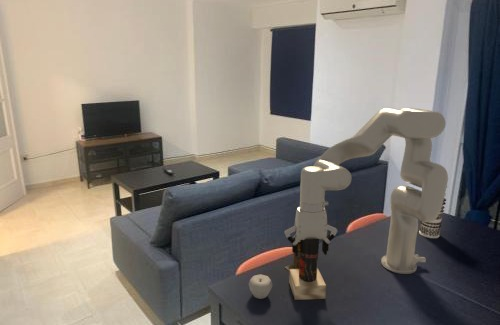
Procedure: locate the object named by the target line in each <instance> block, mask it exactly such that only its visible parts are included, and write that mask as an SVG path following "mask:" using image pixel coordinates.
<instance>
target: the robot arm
mask: <svg viewBox="0 0 500 325" xmlns="http://www.w3.org/2000/svg"><path fill="white" fill-rule="evenodd" d="M446 123H447V122H446V118H445V117H444V115H443V113H440V111H439V112H438V111H435V110H429V109H421V108H413V107H402V108H394V107H384V108H381V109H379V111H377V112H376V113H375V114H374V115H373V116H372V117H371V118H370V119H369V120H368V121H367V122H366V123H365V124H364V125H363V126H362V128H360V129H359V130H358V131H357V132H356V133H355V134H354V135H353V136H351V137H349V138H347V139H345V140H342V141H339V142H337V143H336V144H334V145H332V146H331V147H329V148H328V149H327V150H325V151H324V152H323V153H322V154H321V155H320V156H319V157H318V159H316V161H315V163H314V164H313V166H312V165H311V166H309V165H308V166H305V167H302V169H301V171H300V183H299V186H300V189H299V193H300V194H299V206H298V207H297V208H296V210H295V211H296V212H295V218H294V225H293V226H291V227H289V228H288V229H285V230H284V235H285V236H286V238H287V240H288V241H289V243H290V244H292V245H291V246H292V247H291V248H292V249H291V252H292V254H293V255H294V254H295V256H298V245H297V243H298V242H299V241H300V240H305V239H319V240H322V242H321V243H322V244H321V252H322V253H323V254H324V255H325V256H326V255H328V254H327V253H328V251H329V244H330V243H331V241H332V240H334V238H335V236H336V234H337V233H338V229H337V228H336V227H334V226H331V225H330V224H328V217H327V210H326V206H329V201H328V200H325V193H326V191H342V190H345V189H347V188H348V187H349V186H350V185H351V183H352V174H351V172H350V171H349V170H348V169H347V168H345V167H343V166H341V165H340V164H342V163H344V162H345V161H348V160H350V159H351V160H352V159H356V158H364V157H370V156H372V155H374V154H375V153H376V152H377V151H378V150H379V149H380V148H381V147H382V146H383V145H384V144H385V143H386V142H387V141H388V140H389V139H390V138H391V137H392V136H394V137H398V138H403V139H404V141H405V142H404V143H405V147H404V151H403V152H404V153H403V157H402V162H401V167H400V172H399V175H400V178H401V180H403V182H406V183H408V184H409V185H413V186H415V187H418V188H420V189H421V190H420V189H417V188H414V187H412V186H409V185H403V184H402V185H398V186H396V187H395V188H394V189H392V191H391V194H390V198H389V199H390V200H389V201H390V202H389V203H390V221H389V222H390V223H389V230H388V239H387V246H386V254H385V255H383V256H382V257H381V260H380V261H381V265H382V266H383V267H384V268H386V270H389V271H390V272H393V273H395V274H401V275H409V274H413V273H415V272H416V271H417V268H418V266H417V264H418V263H426V262H427V259H426V257H424V256H420V255H419V254H415V251H416V244H417V237H418V236H417V235H418V232H419V221H424V222H432V221H434V220H435V219H436V218H437V217H438V215H439V213H440V211H441V207H442V204H443V199H444V198H445V197H444V195H445V193H446V190H447V188H448V182H449V174H448V171H447V169H446V168H445V166H443V165H441V164H438V163H436V162H432V161H431V157H432V156H431V155H432V150H433V149H432V148H433V142H432V139H434V138H436V137H438V136H440V135H441V134H442V133H443V132H444V130H445V128H446ZM446 187H447V188H446ZM445 196H446V195H445ZM328 231H330V233H329V234H328ZM293 233H294V235H293V236H292V234H293Z"/></svg>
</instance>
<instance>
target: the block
mask: <svg viewBox="0 0 500 325" xmlns="http://www.w3.org/2000/svg"><path fill="white" fill-rule="evenodd" d="M288 280H289V281H288V283H289V285H290V288H291V292H292V295H293V299H294V300H295V301H296V300H297V301H298V300H300V301H302V300H321V299H324V300H325V299H326V291H327V284H326V282H325V280H324V278H323V276H322V274H321V272H320V270H319V268H318V267H317V278H316V280H315V281H313V282H305V281H303V280H301V279H300V278H299V269H290V271H289V278H288Z"/></svg>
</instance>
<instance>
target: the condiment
mask: <svg viewBox="0 0 500 325" xmlns="http://www.w3.org/2000/svg"><path fill="white" fill-rule="evenodd" d="M300 244H301V240H300V241H299V242H298V243H297V245H298V256H295V254H294V253H293V263H291V264H290V265H287V266H284V268H285V269H286V270H288V272H290V269H299V263H300Z"/></svg>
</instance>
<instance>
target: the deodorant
mask: <svg viewBox="0 0 500 325" xmlns="http://www.w3.org/2000/svg"><path fill="white" fill-rule="evenodd" d="M319 245H320V239H305V240H301V244H300V263H299V278H300V279H301V280H303V281H305V282H313V281H315V280H316V278H317V268H318V265H319V264H318V263H319V249H320V247H319Z"/></svg>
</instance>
